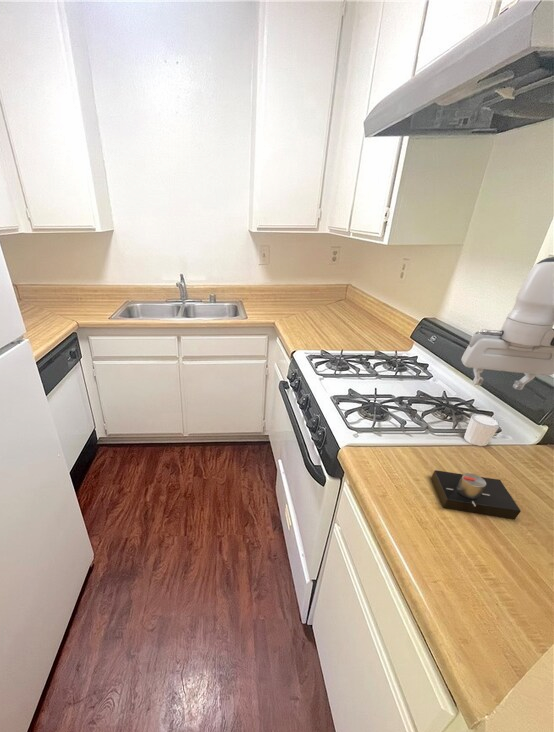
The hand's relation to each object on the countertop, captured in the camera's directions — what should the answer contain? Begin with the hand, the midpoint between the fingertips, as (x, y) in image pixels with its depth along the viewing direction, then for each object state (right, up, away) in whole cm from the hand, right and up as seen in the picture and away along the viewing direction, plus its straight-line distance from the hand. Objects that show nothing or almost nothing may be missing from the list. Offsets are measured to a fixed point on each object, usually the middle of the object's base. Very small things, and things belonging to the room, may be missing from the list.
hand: (496, 386), depth 88 cm
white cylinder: (+1, -14, +9) cm, 17 cm away
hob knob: (-17, -25, -13) cm, 33 cm away
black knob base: (-15, -27, -11) cm, 32 cm away
